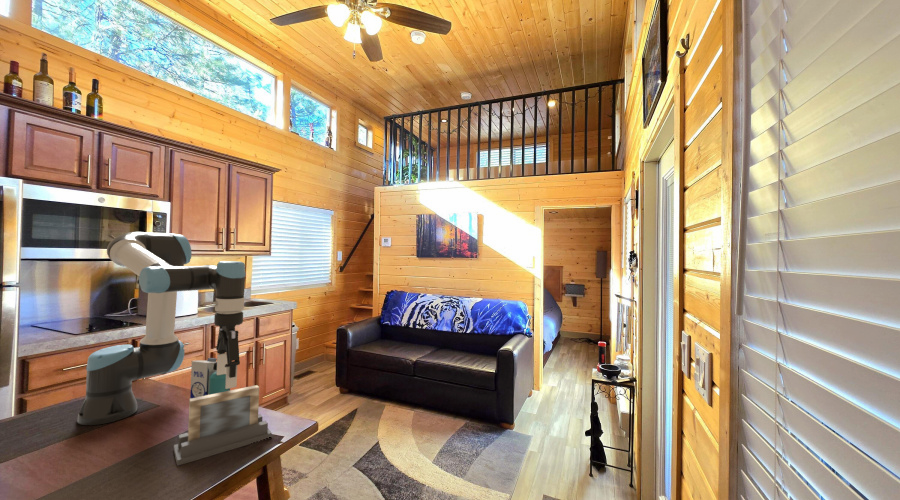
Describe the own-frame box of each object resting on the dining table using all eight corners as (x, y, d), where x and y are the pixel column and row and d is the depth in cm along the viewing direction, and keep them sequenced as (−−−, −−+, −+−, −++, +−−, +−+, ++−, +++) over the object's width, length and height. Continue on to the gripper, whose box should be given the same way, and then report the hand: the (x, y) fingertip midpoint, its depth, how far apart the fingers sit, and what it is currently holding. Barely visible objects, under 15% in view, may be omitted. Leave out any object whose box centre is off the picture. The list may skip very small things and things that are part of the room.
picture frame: (255, 428, 117) (257, 385, 117) (257, 431, 115) (259, 387, 115) (187, 446, 105) (189, 398, 105) (188, 450, 103) (190, 401, 103)
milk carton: (189, 417, 126) (191, 360, 126) (206, 409, 132) (208, 355, 133) (205, 420, 124) (207, 362, 124) (222, 411, 131) (224, 357, 131)
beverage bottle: (218, 425, 121) (221, 365, 121) (202, 423, 122) (204, 364, 122) (234, 416, 127) (236, 360, 127) (218, 414, 129) (220, 358, 129)
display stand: (262, 425, 122) (263, 412, 122) (271, 437, 114) (272, 423, 114) (173, 450, 105) (174, 434, 106) (177, 465, 98) (177, 449, 98)
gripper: (207, 306, 117) (204, 371, 117) (223, 319, 98) (219, 397, 98) (234, 304, 122) (231, 367, 122) (253, 317, 103) (250, 390, 103)
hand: (226, 380), depth 110 cm, fingers open, 13 cm apart
